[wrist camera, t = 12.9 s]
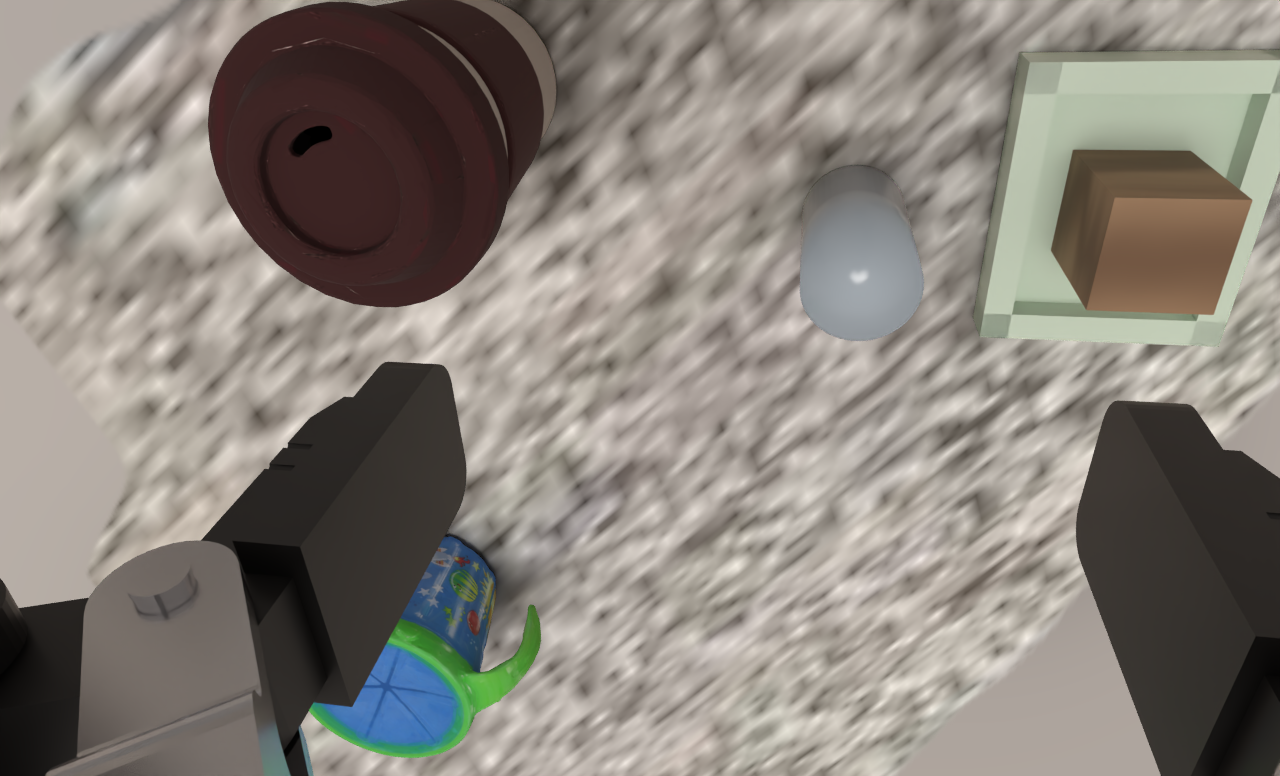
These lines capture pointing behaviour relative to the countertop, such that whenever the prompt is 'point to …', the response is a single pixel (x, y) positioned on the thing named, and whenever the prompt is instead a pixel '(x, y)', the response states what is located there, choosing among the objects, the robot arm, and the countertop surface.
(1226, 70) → the sage tray
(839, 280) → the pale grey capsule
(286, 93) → the coffee cup
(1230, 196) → the walnut block
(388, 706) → the snack cup
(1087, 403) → the countertop surface
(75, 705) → the robot arm
